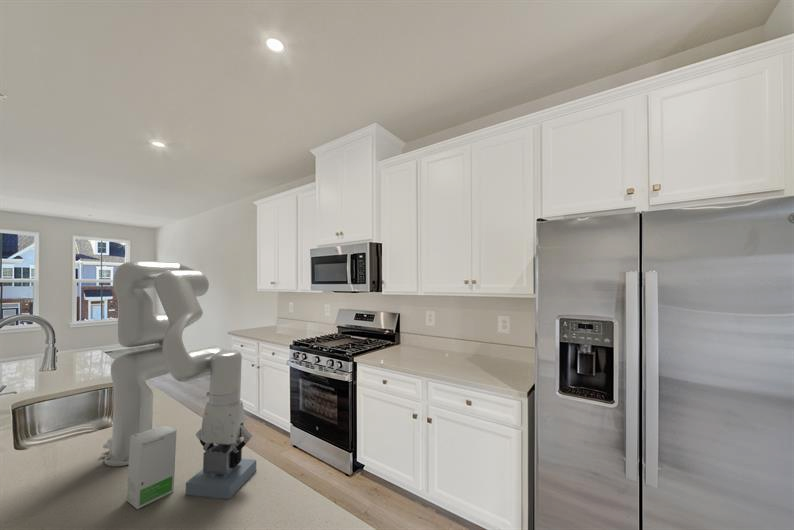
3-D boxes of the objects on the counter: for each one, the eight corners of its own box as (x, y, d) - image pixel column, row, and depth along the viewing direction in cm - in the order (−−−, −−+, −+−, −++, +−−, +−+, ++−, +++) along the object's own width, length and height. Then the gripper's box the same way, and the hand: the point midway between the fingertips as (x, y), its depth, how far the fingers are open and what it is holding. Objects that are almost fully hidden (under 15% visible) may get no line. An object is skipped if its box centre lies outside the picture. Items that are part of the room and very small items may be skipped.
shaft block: (185, 494, 82) (186, 464, 82) (217, 467, 94) (218, 441, 94) (229, 499, 80) (230, 468, 80) (256, 470, 92) (256, 444, 92)
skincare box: (136, 511, 76) (138, 443, 77) (124, 500, 79) (127, 436, 80) (175, 491, 83) (177, 429, 84) (163, 482, 87) (165, 423, 87)
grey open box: (202, 472, 84) (203, 453, 84) (219, 458, 91) (220, 440, 91) (226, 474, 83) (226, 455, 84) (241, 460, 90) (242, 442, 90)
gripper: (185, 400, 85) (183, 469, 84) (246, 404, 83) (244, 475, 82) (205, 390, 93) (203, 454, 92) (262, 394, 90) (260, 459, 90)
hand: (223, 463), depth 87 cm, fingers closed on grey open box, 6 cm apart
